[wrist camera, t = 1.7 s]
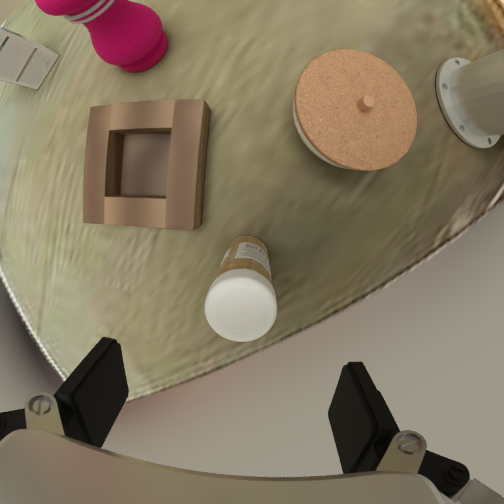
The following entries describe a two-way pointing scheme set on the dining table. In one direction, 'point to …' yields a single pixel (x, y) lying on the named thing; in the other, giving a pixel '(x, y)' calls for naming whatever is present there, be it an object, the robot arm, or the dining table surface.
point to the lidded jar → (354, 111)
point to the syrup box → (24, 60)
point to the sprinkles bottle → (242, 292)
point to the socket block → (146, 164)
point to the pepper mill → (116, 29)
